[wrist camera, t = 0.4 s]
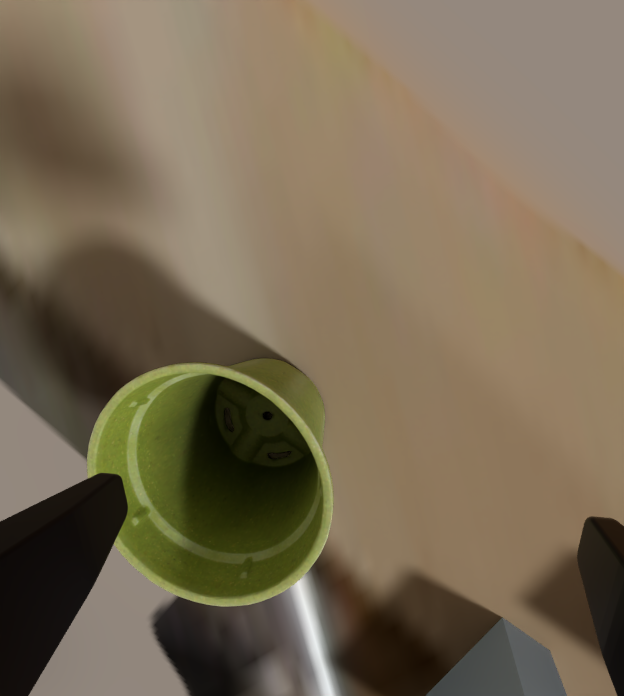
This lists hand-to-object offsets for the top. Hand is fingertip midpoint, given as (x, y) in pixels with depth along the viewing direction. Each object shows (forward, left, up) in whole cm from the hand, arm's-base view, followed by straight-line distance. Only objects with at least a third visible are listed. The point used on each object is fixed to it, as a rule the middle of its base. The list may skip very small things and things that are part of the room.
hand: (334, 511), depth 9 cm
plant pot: (-6, +3, -15) cm, 17 cm away
